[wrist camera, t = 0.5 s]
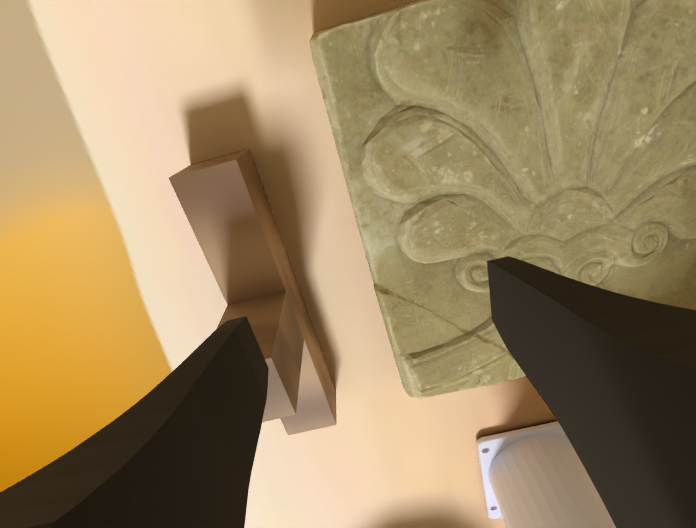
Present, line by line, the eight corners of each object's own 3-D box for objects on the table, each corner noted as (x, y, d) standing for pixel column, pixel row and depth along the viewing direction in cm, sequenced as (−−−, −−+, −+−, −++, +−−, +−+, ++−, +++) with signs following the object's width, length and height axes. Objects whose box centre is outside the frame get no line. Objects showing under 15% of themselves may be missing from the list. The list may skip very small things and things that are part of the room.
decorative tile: (399, 373, 25) (409, 415, 22) (306, 36, 17) (301, 25, 14) (686, 304, 24) (741, 339, 21) (744, -101, 15) (853, -149, 12)
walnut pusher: (335, 388, 25) (337, 509, 18) (292, 397, 26) (277, 521, 18) (250, 148, 19) (198, 190, 11) (192, 164, 19) (105, 215, 12)
